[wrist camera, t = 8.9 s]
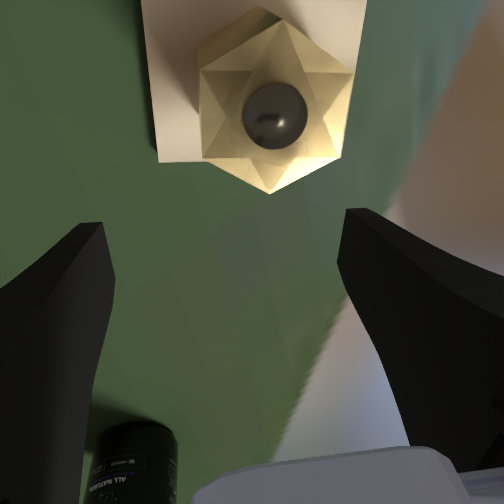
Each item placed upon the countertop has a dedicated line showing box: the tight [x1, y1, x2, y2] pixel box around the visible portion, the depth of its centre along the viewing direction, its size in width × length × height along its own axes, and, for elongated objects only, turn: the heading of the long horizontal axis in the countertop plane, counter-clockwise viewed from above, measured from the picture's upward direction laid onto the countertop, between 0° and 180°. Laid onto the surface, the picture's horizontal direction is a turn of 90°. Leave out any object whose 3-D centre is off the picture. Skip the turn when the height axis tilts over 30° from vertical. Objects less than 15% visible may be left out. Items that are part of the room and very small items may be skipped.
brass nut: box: [197, 5, 354, 194], centre depth 16 cm, size 6×5×5 cm
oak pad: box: [141, 0, 367, 162], centre depth 18 cm, size 7×9×1 cm
